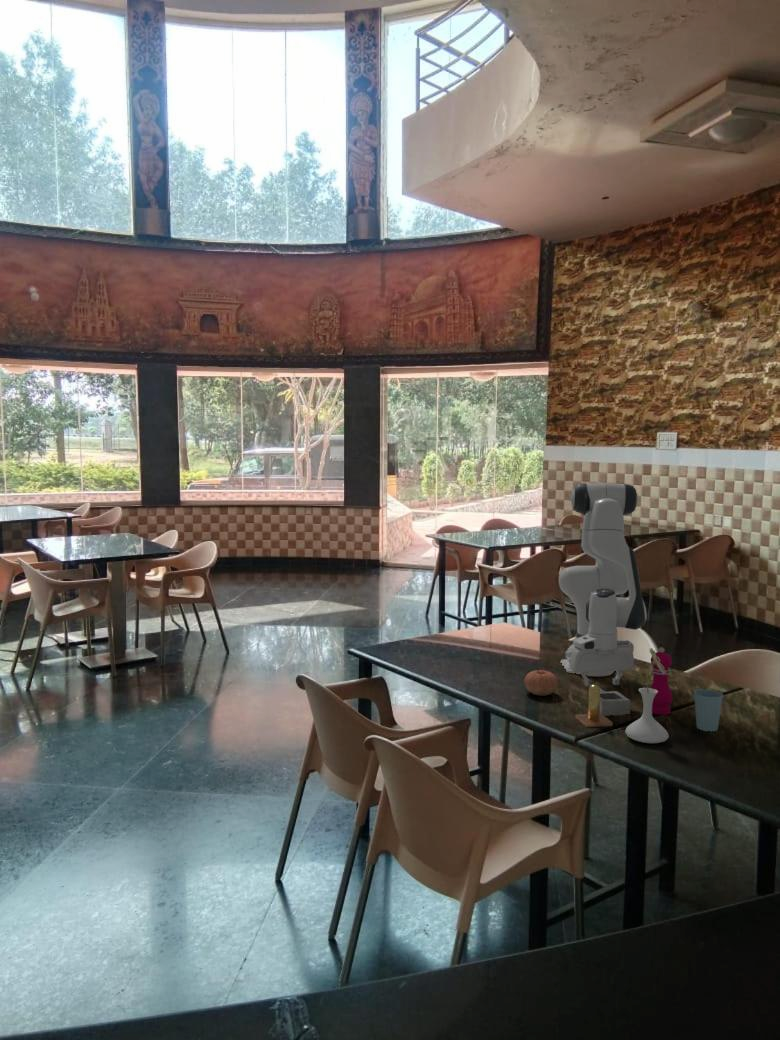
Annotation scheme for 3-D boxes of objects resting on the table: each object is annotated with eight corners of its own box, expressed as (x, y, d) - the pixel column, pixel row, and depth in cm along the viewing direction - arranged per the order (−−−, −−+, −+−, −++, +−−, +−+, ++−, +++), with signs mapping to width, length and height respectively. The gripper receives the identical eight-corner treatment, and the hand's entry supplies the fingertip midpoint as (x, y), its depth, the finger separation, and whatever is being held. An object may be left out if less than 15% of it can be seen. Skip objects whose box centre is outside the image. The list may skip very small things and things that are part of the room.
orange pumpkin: (561, 699, 244) (562, 674, 244) (528, 699, 244) (528, 675, 243) (552, 689, 255) (553, 665, 254) (520, 689, 254) (521, 666, 254)
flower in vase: (664, 750, 201) (667, 657, 199) (620, 742, 206) (623, 652, 204) (672, 735, 212) (675, 647, 210) (631, 727, 218) (633, 642, 216)
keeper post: (575, 717, 226) (576, 681, 225) (600, 716, 227) (601, 680, 226) (586, 727, 218) (587, 689, 217) (612, 725, 219) (613, 688, 219)
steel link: (578, 698, 245) (579, 685, 244) (605, 697, 246) (605, 683, 246) (601, 716, 228) (601, 701, 227) (629, 714, 229) (630, 700, 229)
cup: (688, 723, 222) (690, 688, 221) (715, 724, 221) (717, 689, 220) (697, 732, 214) (699, 696, 213) (725, 733, 213) (727, 697, 213)
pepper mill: (656, 716, 228) (658, 650, 226) (642, 708, 235) (644, 645, 233) (677, 714, 230) (679, 649, 228) (662, 706, 237) (664, 643, 235)
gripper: (628, 638, 242) (627, 681, 243) (568, 640, 239) (567, 683, 240) (638, 642, 236) (637, 686, 237) (576, 644, 233) (575, 688, 233)
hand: (601, 684), depth 238 cm, fingers open, 8 cm apart
